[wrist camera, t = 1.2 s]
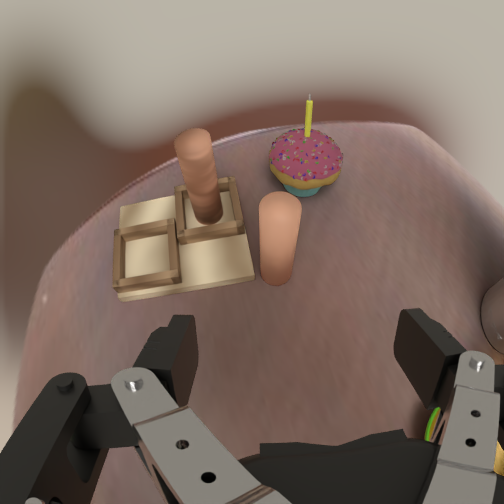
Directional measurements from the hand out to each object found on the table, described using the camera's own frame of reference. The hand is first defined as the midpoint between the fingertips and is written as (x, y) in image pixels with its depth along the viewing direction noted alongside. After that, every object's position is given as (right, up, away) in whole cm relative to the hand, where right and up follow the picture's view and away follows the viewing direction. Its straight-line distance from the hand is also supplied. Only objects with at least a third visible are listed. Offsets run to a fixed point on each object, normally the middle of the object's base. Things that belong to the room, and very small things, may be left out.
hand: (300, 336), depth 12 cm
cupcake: (+4, +12, +28) cm, 30 cm away
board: (-10, +4, +24) cm, 26 cm away
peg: (+1, +1, +22) cm, 22 cm away
